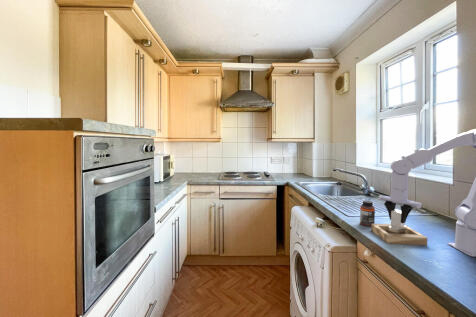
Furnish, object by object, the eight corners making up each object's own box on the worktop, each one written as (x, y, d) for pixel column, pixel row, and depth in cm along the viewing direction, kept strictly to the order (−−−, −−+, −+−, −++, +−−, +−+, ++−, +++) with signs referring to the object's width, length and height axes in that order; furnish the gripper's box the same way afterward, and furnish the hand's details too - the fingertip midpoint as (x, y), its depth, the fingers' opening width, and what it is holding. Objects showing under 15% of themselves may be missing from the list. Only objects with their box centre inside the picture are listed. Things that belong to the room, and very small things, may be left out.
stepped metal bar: (406, 229, 89) (407, 210, 89) (398, 233, 86) (398, 214, 85) (396, 226, 92) (397, 208, 92) (388, 230, 89) (389, 211, 88)
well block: (427, 245, 82) (427, 237, 82) (387, 243, 84) (388, 235, 83) (404, 231, 95) (405, 224, 95) (370, 230, 96) (371, 223, 96)
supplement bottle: (365, 221, 107) (366, 199, 106) (377, 225, 101) (378, 202, 101) (356, 223, 105) (357, 200, 104) (368, 227, 99) (369, 203, 99)
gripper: (425, 190, 84) (423, 224, 84) (385, 184, 96) (383, 214, 97) (417, 192, 80) (415, 228, 81) (376, 186, 93) (375, 217, 93)
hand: (397, 221), depth 89 cm, fingers closed on stepped metal bar, 3 cm apart
